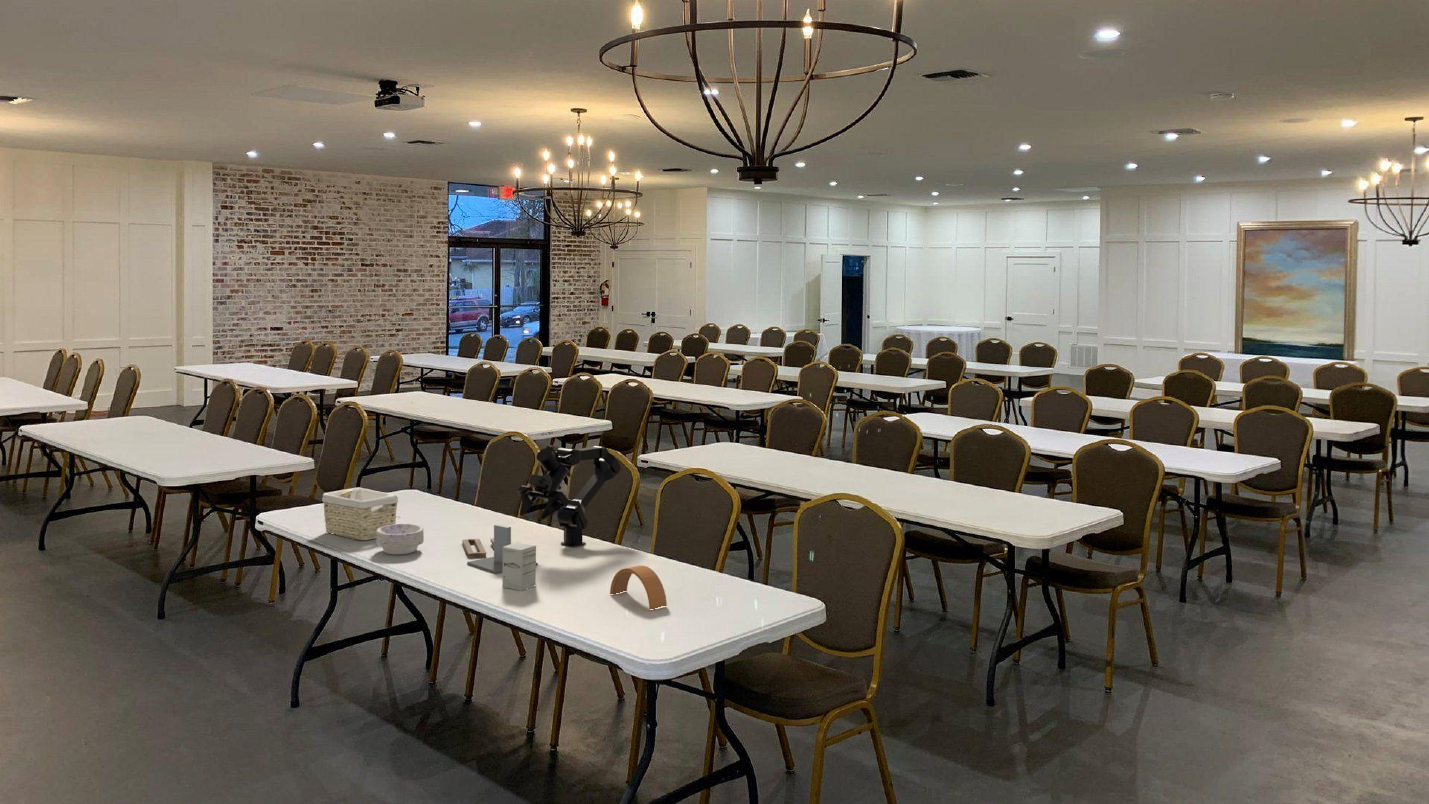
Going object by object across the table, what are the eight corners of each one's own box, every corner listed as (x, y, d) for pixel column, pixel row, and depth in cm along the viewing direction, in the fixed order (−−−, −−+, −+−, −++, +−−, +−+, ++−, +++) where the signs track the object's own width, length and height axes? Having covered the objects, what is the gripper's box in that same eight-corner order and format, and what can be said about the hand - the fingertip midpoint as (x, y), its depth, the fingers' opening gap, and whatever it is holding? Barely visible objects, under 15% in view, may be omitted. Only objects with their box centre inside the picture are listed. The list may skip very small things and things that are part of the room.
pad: (537, 565, 349) (537, 562, 349) (496, 574, 338) (496, 571, 338) (508, 556, 360) (508, 553, 360) (467, 564, 349) (467, 562, 349)
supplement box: (501, 588, 323) (501, 546, 322) (517, 582, 330) (517, 541, 328) (521, 591, 320) (521, 549, 318) (536, 585, 326) (536, 544, 325)
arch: (626, 591, 322) (626, 559, 321) (666, 608, 307) (667, 573, 306) (609, 595, 318) (610, 561, 317) (650, 611, 303) (650, 577, 302)
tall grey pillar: (497, 560, 351) (497, 524, 350) (511, 563, 348) (510, 526, 346) (494, 561, 350) (493, 525, 348) (507, 564, 346) (507, 527, 345)
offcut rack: (504, 541, 380) (504, 532, 380) (512, 555, 361) (512, 545, 361) (462, 543, 375) (462, 534, 375) (468, 558, 356) (468, 548, 356)
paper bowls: (395, 559, 353) (395, 536, 352) (367, 552, 362) (366, 528, 361) (433, 551, 365) (433, 528, 364) (405, 543, 374) (404, 521, 373)
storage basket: (320, 532, 388) (319, 492, 386) (359, 525, 401) (358, 486, 399) (361, 543, 374) (361, 501, 372) (400, 535, 387) (399, 494, 385)
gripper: (521, 461, 365) (498, 499, 357) (563, 468, 355) (540, 506, 347) (537, 481, 373) (514, 518, 365) (578, 488, 363) (556, 526, 355)
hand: (530, 517), depth 358 cm, fingers open, 9 cm apart
